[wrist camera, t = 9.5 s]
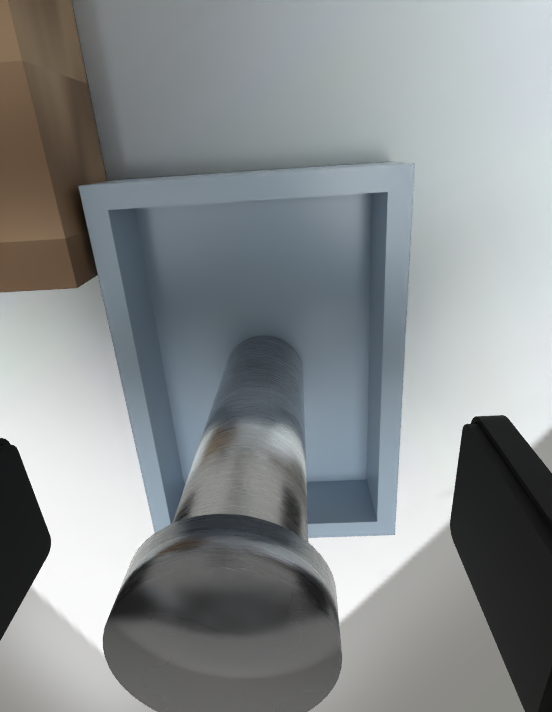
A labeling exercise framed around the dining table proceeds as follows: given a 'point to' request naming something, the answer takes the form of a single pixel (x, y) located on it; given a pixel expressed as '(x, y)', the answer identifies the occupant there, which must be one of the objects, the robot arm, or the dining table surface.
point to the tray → (263, 317)
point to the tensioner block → (44, 148)
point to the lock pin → (234, 563)
